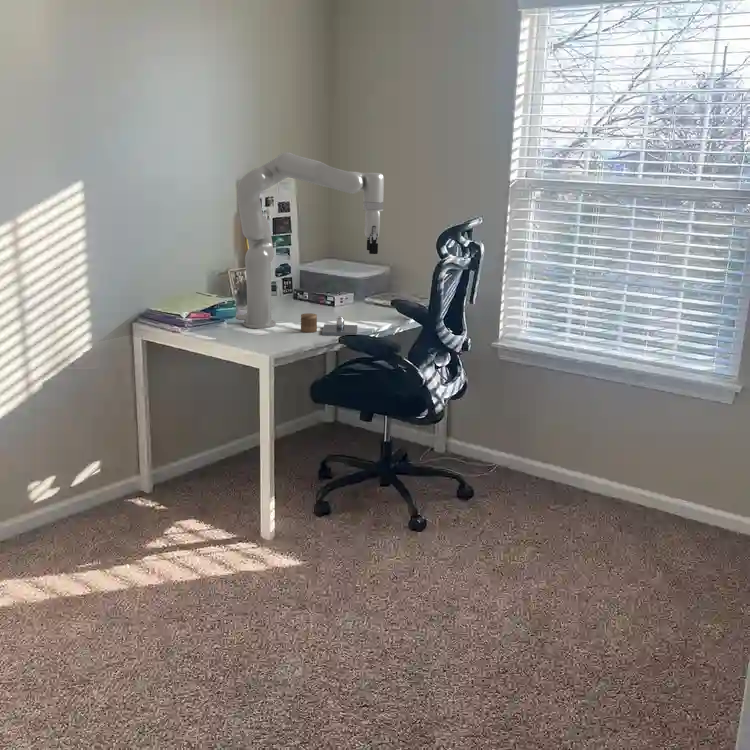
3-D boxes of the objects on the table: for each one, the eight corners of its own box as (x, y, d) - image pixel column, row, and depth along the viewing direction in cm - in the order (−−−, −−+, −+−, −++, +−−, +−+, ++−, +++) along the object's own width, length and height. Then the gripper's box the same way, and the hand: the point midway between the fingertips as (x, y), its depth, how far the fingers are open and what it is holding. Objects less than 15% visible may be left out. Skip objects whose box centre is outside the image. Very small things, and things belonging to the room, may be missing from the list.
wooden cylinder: (300, 332, 314) (300, 315, 312) (301, 328, 319) (301, 312, 318) (316, 332, 314) (316, 316, 312) (317, 329, 319) (317, 312, 318)
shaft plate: (322, 335, 310) (322, 320, 309) (324, 327, 323) (324, 312, 321) (356, 336, 310) (356, 321, 309) (357, 328, 323) (357, 313, 321)
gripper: (361, 204, 318) (360, 248, 323) (365, 208, 302) (364, 255, 307) (380, 204, 319) (379, 248, 324) (385, 208, 303) (384, 255, 308)
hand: (372, 251), depth 315 cm, fingers open, 9 cm apart
